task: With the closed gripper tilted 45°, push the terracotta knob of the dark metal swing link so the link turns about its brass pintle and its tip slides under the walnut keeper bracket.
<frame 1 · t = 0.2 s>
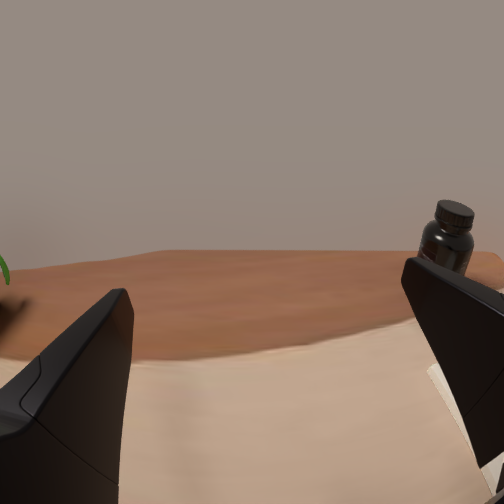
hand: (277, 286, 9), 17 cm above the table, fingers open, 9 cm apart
supplement bottle: (430, 294, 33), on the table
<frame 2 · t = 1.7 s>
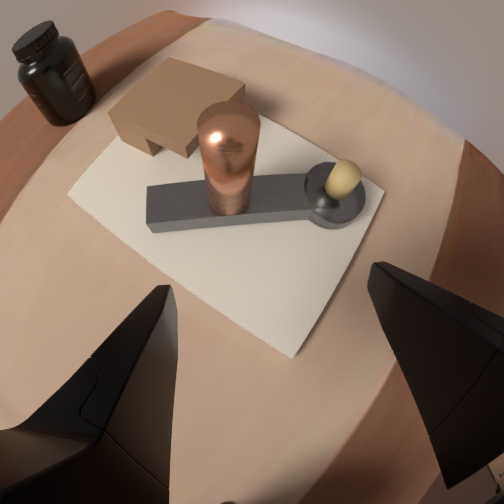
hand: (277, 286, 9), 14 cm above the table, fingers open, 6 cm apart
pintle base: (323, 207, 24), on the table
swing link: (265, 172, 18), point 6 cm above the table, hinge at 0.0°
supplement bottle: (72, 107, 26), on the table
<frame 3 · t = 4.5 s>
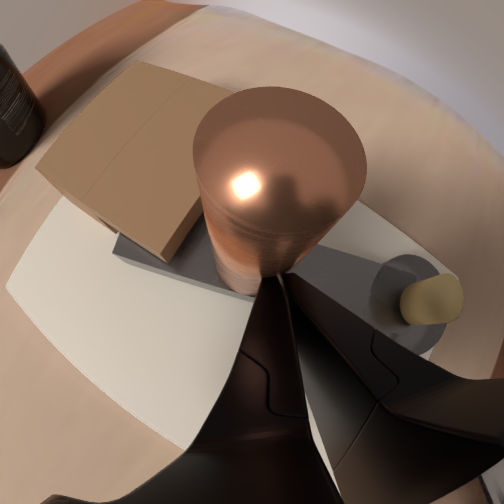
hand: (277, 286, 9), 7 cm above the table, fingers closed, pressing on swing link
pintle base: (381, 311, 16), on the table
swing link: (323, 256, 9), point 6 cm above the table, hinge at -22.6°, touching gripper
supplement bottle: (17, 138, 17), on the table
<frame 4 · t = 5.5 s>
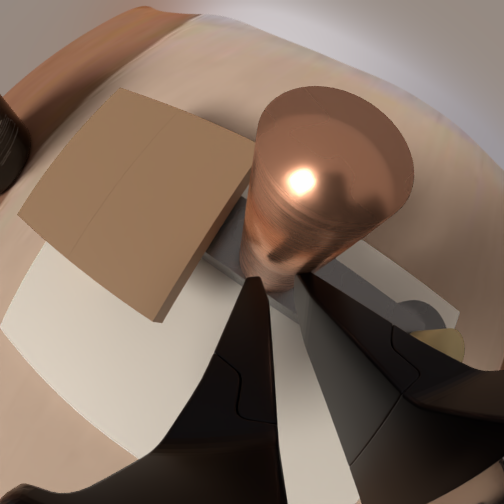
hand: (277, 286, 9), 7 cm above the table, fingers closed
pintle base: (380, 350, 15), on the table
swing link: (345, 273, 9), point 6 cm above the table, hinge at -42.0°, touching gripper
supplement bottle: (4, 164, 16), on the table
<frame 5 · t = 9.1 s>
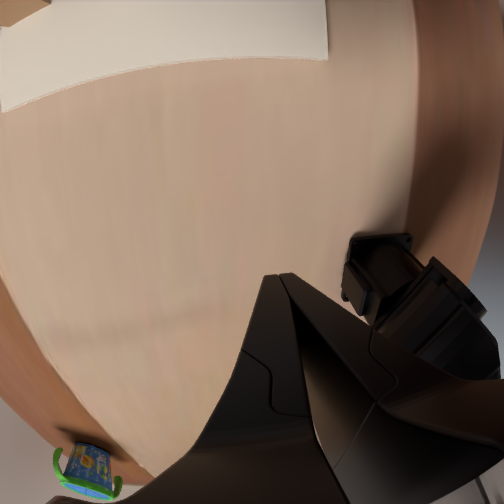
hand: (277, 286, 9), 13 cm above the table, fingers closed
snack cup: (92, 448, 41), on the table
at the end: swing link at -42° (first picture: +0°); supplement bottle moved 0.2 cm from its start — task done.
